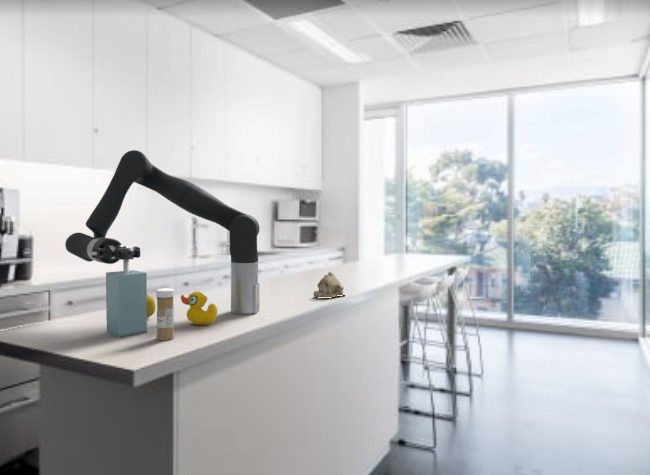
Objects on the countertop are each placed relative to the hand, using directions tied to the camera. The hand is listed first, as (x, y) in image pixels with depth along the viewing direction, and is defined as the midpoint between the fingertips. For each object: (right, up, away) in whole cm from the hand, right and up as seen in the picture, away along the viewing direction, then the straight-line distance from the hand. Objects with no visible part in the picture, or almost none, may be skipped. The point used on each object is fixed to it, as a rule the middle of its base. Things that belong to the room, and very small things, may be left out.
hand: (130, 254), depth 137 cm
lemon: (-3, -21, +20) cm, 30 cm away
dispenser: (-2, -22, +3) cm, 23 cm away
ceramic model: (+56, -20, +66) cm, 88 cm away
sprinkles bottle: (+11, -23, -3) cm, 25 cm away
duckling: (+16, -22, +14) cm, 30 cm away
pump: (-1, -13, +2) cm, 13 cm away
